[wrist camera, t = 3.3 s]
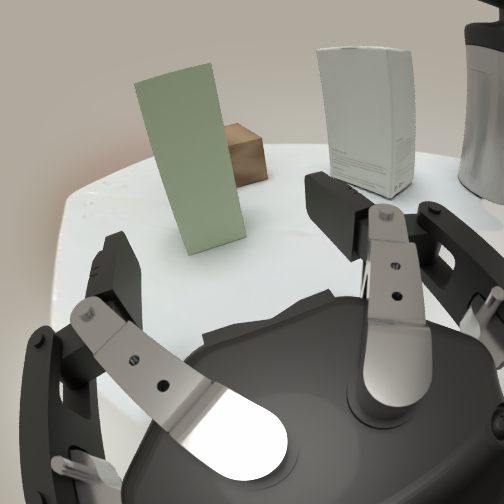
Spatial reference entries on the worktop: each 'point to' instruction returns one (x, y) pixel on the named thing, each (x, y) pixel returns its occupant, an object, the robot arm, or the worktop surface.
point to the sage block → (193, 155)
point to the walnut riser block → (245, 155)
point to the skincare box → (370, 116)
